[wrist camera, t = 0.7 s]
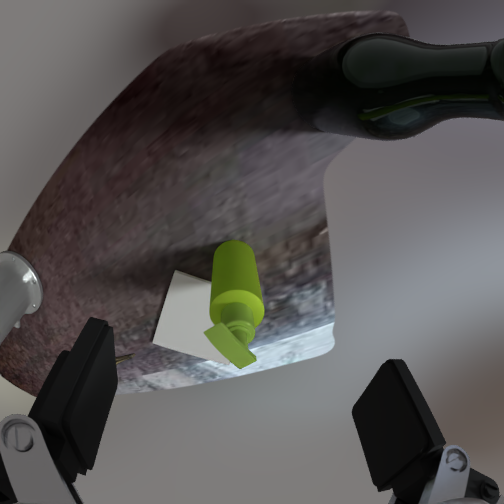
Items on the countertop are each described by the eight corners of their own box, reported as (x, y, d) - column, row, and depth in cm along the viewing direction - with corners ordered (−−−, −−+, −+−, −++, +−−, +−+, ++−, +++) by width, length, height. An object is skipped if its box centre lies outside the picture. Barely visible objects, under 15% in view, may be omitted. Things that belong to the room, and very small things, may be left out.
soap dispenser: (234, 226, 42) (240, 314, 24) (262, 262, 45) (284, 361, 27) (200, 249, 43) (184, 346, 25) (229, 283, 46) (232, 387, 28)
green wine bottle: (375, 118, 37) (601, 171, 7) (308, 143, 38) (514, 246, 8) (347, 49, 33) (560, -16, 3) (276, 71, 34) (439, -48, 4)
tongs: (140, 355, 52) (137, 363, 50) (96, 371, 54) (93, 378, 52) (126, 340, 50) (122, 348, 48) (83, 357, 53) (79, 364, 51)
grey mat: (228, 362, 53) (228, 365, 52) (153, 340, 50) (152, 343, 49) (262, 298, 47) (263, 300, 47) (175, 269, 44) (174, 271, 44)
